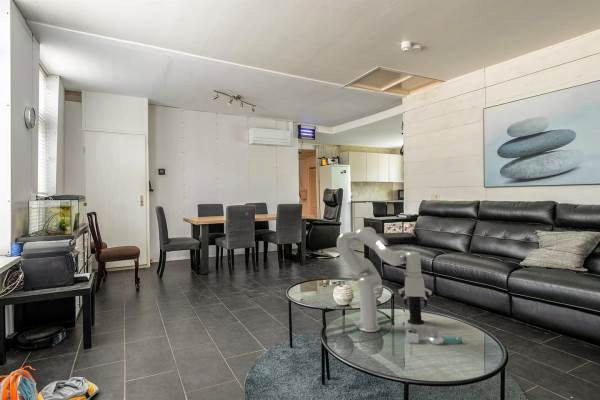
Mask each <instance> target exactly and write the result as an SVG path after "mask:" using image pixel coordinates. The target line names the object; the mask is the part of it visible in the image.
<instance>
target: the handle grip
mask: <svg viewBox="0 0 600 400" xmlns="http://www.w3.org/2000/svg"><path fill="white" fill-rule="evenodd" d="M408 304H409V305H408V309H409V319H408V320H407V323H408V324H411V325H415V326H416V325H417V326H419V325H423V324H425V321H424V320H423V319H422V305H421V297H413V296H408Z"/></svg>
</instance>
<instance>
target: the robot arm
mask: <svg viewBox="0 0 600 400" xmlns="http://www.w3.org/2000/svg"><path fill="white" fill-rule="evenodd" d="M360 244H364V245H365V246H366V247H369V248H370V249H372V250H373V251H374V252H375V253H376V254H377V256H378V257H379V258H380V259H381V260H382V261H384V262H386V263H387V264H388V265H391V266H393V267H396V266H400V265H403V264H405V266H406V269H405V270H406V271H405V272H403V275H404V276H405V279H404V286H403V287H402V288H399V289H398V290H397V291H398V294H399V296H400V297H401V298H402V299H403V303H404V305H405V307H408V299H407V298H408V297H409V296H413V297H420V298H423V305H424V308H427V306H428V299H429V298H431V295H432V294H433V291H432V290H430V289H429V288H427V287H425V281H424V277H423V276H422V265H421V264H422V263H421V262H422V261H421V253H420V252H419V251H414V250H413V251H412V250H411V251H408V250H403V249H401V250H395V251H394V250H392V249H390V248H389V247H387V246H386V245H385V241H384V238H383V237H381V236H379V235H377V231H376V229H375V228H373V227H370V226H366V227H360V228H359V229H358V230H354V231H347V232H343V233H341V234H340V235H339V236H338V237H337V239H336V248H337V251H338V252H339V254H340V255H341V257H342V258H343V260H344V262H345V263H346V265H347V266H348V268H349V270H350V272H351V273H352V274H353V275H354V276H356V277H357V276H361V275H362V276H361V277H359V278H358V281H357V289H358V292H359V293H358V294H359V307H360V319H359V320H353V324H354V325H355V326H358V329H359V330H360V331H362V332H366V333H374V332H378V331H380V330H381V326H380V325H379V324H378V314H377V313H378V311H377V310H378V309H377V298H376V294H375V290H376V289H378V288H380V287H381V286H382V284H383V283H382V282H383V281H382V280H383V279H382V278H381V275H380V274H379V272H378V270H377V268H376V267H375V265H374V264H373V263H372V261H371V260H370V259H368V258H366V257H362V258H360V257H359V255H358V253H357V252H356V251H355V250H354V248H352V247H351V246H356V245H360ZM403 292H404V293H405V294H404V293H403ZM426 293H428V294H426Z"/></svg>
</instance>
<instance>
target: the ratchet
mask: <svg viewBox="0 0 600 400" xmlns="http://www.w3.org/2000/svg"><path fill="white" fill-rule="evenodd" d="M432 331H433V332H432V333H433V334H428V335H427V342H428V344H430V345H434V346H442V345H444V344H447V345H448V344H449V345H451V344H452V345H460V344H463V339H462V337H461V336H445V335H444V336H443V335H440V334H439V329H438V327H432Z"/></svg>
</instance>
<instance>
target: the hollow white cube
mask: <svg viewBox="0 0 600 400" xmlns="http://www.w3.org/2000/svg"><path fill="white" fill-rule="evenodd" d="M405 340H406V342H407V344H420V343H419V340H420V339H419V332H418V330H417V329H407V328H406V329H405Z"/></svg>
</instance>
